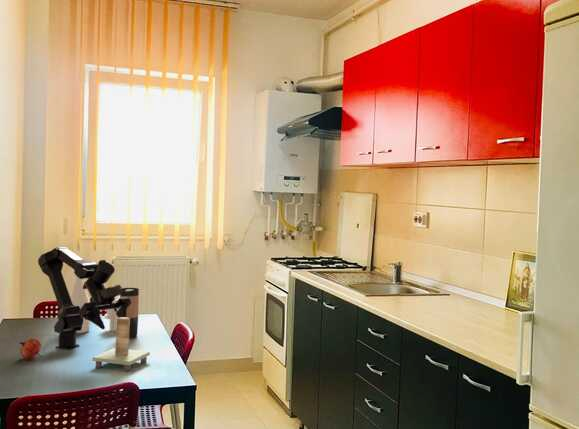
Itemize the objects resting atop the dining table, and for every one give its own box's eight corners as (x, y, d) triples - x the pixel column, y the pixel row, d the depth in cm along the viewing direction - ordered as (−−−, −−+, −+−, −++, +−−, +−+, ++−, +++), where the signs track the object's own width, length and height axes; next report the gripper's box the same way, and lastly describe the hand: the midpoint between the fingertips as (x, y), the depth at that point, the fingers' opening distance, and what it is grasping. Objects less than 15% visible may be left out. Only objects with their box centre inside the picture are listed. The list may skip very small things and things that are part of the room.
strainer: (121, 331, 259) (121, 297, 259) (103, 332, 258) (104, 297, 257) (122, 328, 266) (122, 294, 266) (105, 328, 265) (106, 294, 264)
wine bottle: (92, 329, 262) (94, 260, 261) (85, 334, 253) (87, 263, 252) (70, 328, 262) (72, 259, 261) (62, 333, 252) (64, 262, 252)
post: (115, 352, 212) (117, 317, 212) (128, 352, 213) (130, 317, 213) (114, 355, 208) (116, 319, 207) (127, 355, 209) (129, 319, 208)
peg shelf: (114, 357, 219) (114, 347, 219) (149, 361, 215) (149, 351, 215) (92, 368, 205) (92, 357, 205) (128, 372, 202) (129, 361, 202)
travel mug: (131, 333, 256) (133, 287, 256) (141, 337, 251) (142, 289, 250) (115, 336, 251) (116, 288, 250) (124, 339, 246) (125, 291, 245)
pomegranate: (35, 361, 219) (11, 347, 214) (48, 344, 220) (25, 330, 216) (37, 368, 212) (13, 354, 208) (51, 351, 214) (27, 337, 209)
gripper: (84, 280, 208) (102, 317, 201) (129, 275, 223) (147, 309, 216) (71, 299, 213) (88, 336, 207) (115, 293, 228) (132, 328, 221)
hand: (115, 326), depth 213 cm, fingers open, 9 cm apart
